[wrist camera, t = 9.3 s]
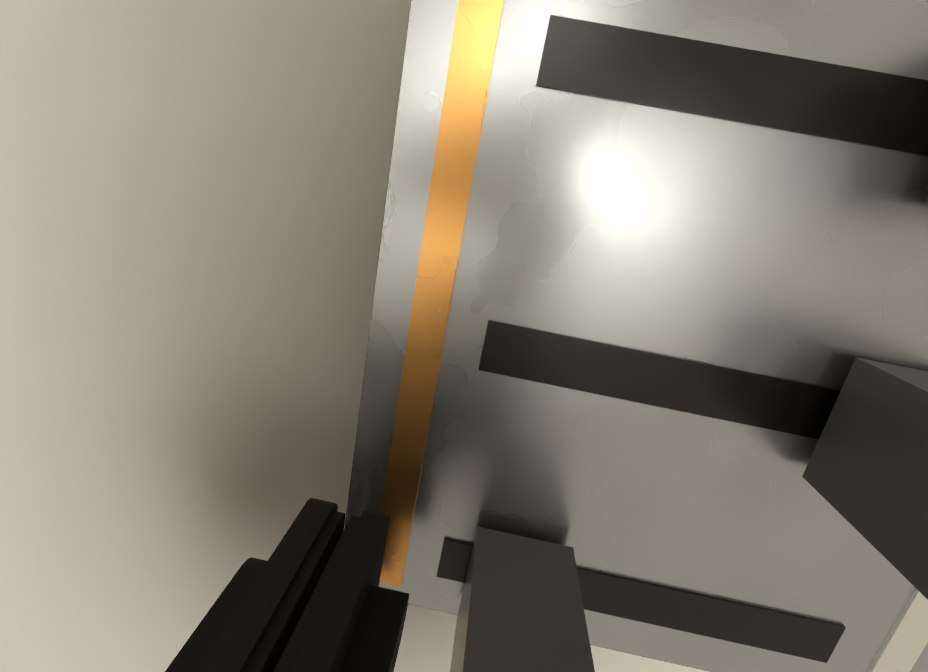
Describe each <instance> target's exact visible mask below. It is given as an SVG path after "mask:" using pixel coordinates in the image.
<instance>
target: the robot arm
mask: <svg viewBox="0 0 928 672" xmlns="http://www.w3.org/2000/svg"><path fill="white" fill-rule="evenodd" d="M337 510H338V506H337V504H335V503H331V502H326V501H322V500H318V499H313V498H310V499H309V500H308V501H307V502H306V504H305V506H304V507H303V509H302V510H301V512H300V513H299V515H298V516H297V518H296V519H295V521H294V522H293V524H292V525H291V527H290V528H289V530H288V531H287V533H286V534H285V536H284V537H283V539H282V540H281V542H280V543H279V545H278V546H277V548H276V549H275V551H274V552H273V554H272V555H271V557H270V558H269V560H268V561H265V560H260V559H256V558H249V559H248V560H246V561H245V563H244V564H243V565H242V566H241V567H240V569H239V570H238V571H237V573H236V574H235V576H234V577H233V578H232V580H231V581H230V582H229V584H228V585H227V587H226V588H225V589H224V591H223V592H222V594H221V595H220V596H219V598H218V599H217V600H216V602H215V603H214V605H213V606H212V607H211V609H210V610H209V612H208V613H207V614H206V616H205V617H204V618H203V620H202V621H201V623H200V624H199V625H198V627H197V628H196V630H195V631H194V632H193V634H192V635H191V636H190V638H189V639H188V641H187V642H186V643H185V645H184V646H183V648H182V649H181V650H180V652H179V653H178V654H177V656H176V657H175V659H174V660H173V661H172V663H171V664H170V666H169V667H168V668H167V670H166V671H165V672H393V671H394V667H395V662H396V658H397V654H398V649H399V645H400V640H401V636H402V631H403V626H404V621H405V616H406V611H407V606H408V600H409V593H405V592H400V591H396V590H392V589H387V588H383V587H379V582H380V576H381V570H382V564H383V558H384V552H385V547H386V541H387V535H388V529H389V522H390V516H389V515H385V514H380V513H376V512H371V511H367V510H364V511H363V512H362V514H361V516H360V517H359V516H355V515H352V516H351V517H350V519H349V521H348V523H347V525H346V527H345V529H344V522H345V513H341V512H337ZM343 530H344V531H343Z"/></svg>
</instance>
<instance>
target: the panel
mask: <svg viewBox="0 0 928 672" xmlns="http://www.w3.org/2000/svg"><path fill="white" fill-rule="evenodd" d="M927 198H928V2H927V1H922V0H412V1H411V9H410V17H409V24H408V32H407V40H406V48H405V56H404V64H403V72H402V80H401V88H400V95H399V103H398V111H397V119H396V127H395V135H394V143H393V151H392V158H391V166H390V174H389V182H388V190H387V198H386V206H385V214H384V221H383V229H382V237H381V245H380V253H379V261H378V269H377V277H376V284H375V292H374V300H373V308H372V316H371V324H370V332H369V340H368V347H367V355H366V363H365V371H364V379H363V387H362V395H361V403H360V410H359V418H358V426H357V434H356V442H355V450H354V458H353V466H352V474H351V481H350V489H349V497H348V505H347V513H346V521H345V527H346V525H347V523H348V521H349V519H350V517H351V516H352V515H355V516H359V517H360V516H361V514H362V512H363V511H364V510H367V511H371V512H376V513H380V514H385V515H389V516H390V522H389V529H388V535H387V541H386V547H385V552H384V558H383V564H382V570H381V576H380V582H379V587H383V588H387V589H392V590H396V591H400V592H405V593H409V600H408V604H410V605H415V606H419V607H424V608H428V609H432V610H437V611H441V612H446V613H450V614H455V615H458V611H459V607H460V602H461V598H462V593H463V589H464V584H465V580H466V576H467V571H468V567H469V562H470V558H471V553H472V549H473V545H474V540H475V536H476V531H477V527H482V528H486V529H491V530H495V531H500V532H505V533H509V534H514V535H519V536H523V537H528V538H532V539H537V540H542V541H546V542H551V543H556V544H560V545H565V546H569V547H573V549H574V555H575V561H576V567H577V572H578V578H579V584H580V590H581V596H582V601H583V607H584V613H585V619H586V625H587V630H588V636H589V642H590V645H593V646H598V647H602V648H607V649H611V650H616V651H620V652H625V653H629V654H634V655H638V656H643V657H647V658H652V659H656V660H661V661H665V662H670V663H674V664H678V665H683V666H687V667H692V668H696V669H701V670H705V671H710V672H928V600H927V599H926V598H925V597H924V596H923V595H922V594H921V593H920V592H919V591H918V590H917V589H916V588H915V587H914V586H913V585H912V584H911V583H910V582H909V581H908V580H907V579H906V578H905V577H904V576H903V575H902V574H901V573H900V572H899V571H898V570H897V569H896V568H895V567H894V566H893V565H892V564H891V563H890V562H889V561H888V560H887V559H886V558H885V557H884V556H883V555H882V554H881V553H880V552H879V551H878V550H876V549H875V548H874V547H873V546H872V545H871V544H870V543H869V542H868V541H867V540H866V539H865V538H864V537H863V536H862V535H861V534H860V533H859V532H858V531H857V530H856V529H855V528H854V527H853V526H852V525H851V524H850V523H849V522H848V521H847V520H846V519H845V518H844V517H843V516H842V515H841V514H840V513H839V512H838V511H837V510H836V509H835V508H834V507H833V506H832V505H831V504H830V503H829V502H828V501H827V500H826V499H825V498H824V497H823V496H821V495H820V494H819V493H818V492H817V491H816V490H815V489H814V488H813V487H812V486H811V485H810V484H809V483H808V482H807V481H806V480H805V479H804V478H803V477H802V476H803V473H804V471H805V469H806V467H807V465H808V462H809V460H810V458H811V456H812V453H813V451H814V449H815V447H816V445H817V442H818V440H819V438H820V436H821V433H822V431H823V429H824V427H825V425H826V422H827V420H828V418H829V416H830V413H831V411H832V409H833V407H834V405H835V402H836V400H837V398H838V396H839V393H840V391H841V389H842V387H843V385H844V382H845V380H846V378H847V376H848V373H849V371H850V369H851V367H852V365H853V362H854V360H855V358H856V357H857V358H862V359H867V360H872V361H877V362H882V363H887V364H892V365H898V366H903V367H908V368H913V369H918V370H923V371H928V203H925V202H926V200H927Z"/></svg>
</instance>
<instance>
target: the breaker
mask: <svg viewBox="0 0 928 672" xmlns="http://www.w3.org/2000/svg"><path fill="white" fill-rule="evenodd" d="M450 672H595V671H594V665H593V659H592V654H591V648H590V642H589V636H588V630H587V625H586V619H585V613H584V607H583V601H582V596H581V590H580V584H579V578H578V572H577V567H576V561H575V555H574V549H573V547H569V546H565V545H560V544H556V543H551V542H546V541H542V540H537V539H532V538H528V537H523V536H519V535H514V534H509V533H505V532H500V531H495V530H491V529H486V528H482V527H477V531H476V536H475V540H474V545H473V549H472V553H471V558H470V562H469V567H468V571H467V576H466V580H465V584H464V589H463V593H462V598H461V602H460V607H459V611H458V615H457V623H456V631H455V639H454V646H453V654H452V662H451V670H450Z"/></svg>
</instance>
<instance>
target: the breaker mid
mask: <svg viewBox="0 0 928 672" xmlns="http://www.w3.org/2000/svg"><path fill="white" fill-rule="evenodd" d="M802 477H803V478H804V479H805V480H806V481H807V482H808V483H809V484H810V485H811V486H812V487H813V488H814V489H815V490H816V491H817V492H818V493H819V494H820V495H821V496H823V497H824V498H825V499H826V500H827V501H828V502H829V503H830V504H831V505H832V506H833V507H834V508H835V509H836V510H837V511H838V512H839V513H840V514H841V515H842V516H843V517H844V518H845V519H846V520H847V521H848V522H849V523H850V524H851V525H852V526H853V527H854V528H855V529H856V530H857V531H858V532H859V533H860V534H861V535H862V536H863V537H864V538H865V539H866V540H867V541H868V542H869V543H870V544H871V545H872V546H873V547H874V548H875V549H876V550H878V551H879V552H880V553H881V554H882V555H883V556H884V557H885V558H886V559H887V560H888V561H889V562H890V563H891V564H892V565H893V566H894V567H895V568H896V569H897V570H898V571H899V572H900V573H901V574H902V575H903V576H904V577H905V578H906V579H907V580H908V581H909V582H910V583H911V584H912V585H913V586H914V587H915V588H916V589H917V590H918V591H919V592H920V593H921V594H922V595H923V596H924V597H925V598H926V599H927V600H928V371H923V370H918V369H913V368H908V367H903V366H898V365H892V364H887V363H882V362H877V361H872V360H867V359H862V358H857V357H856V358H855V360H854V362H853V365H852V367H851V369H850V371H849V373H848V376H847V378H846V380H845V382H844V385H843V387H842V389H841V391H840V393H839V396H838V398H837V400H836V402H835V405H834V407H833V409H832V411H831V413H830V416H829V418H828V420H827V422H826V425H825V427H824V429H823V431H822V433H821V436H820V438H819V440H818V442H817V445H816V447H815V449H814V451H813V453H812V456H811V458H810V460H809V462H808V465H807V467H806V469H805V471H804V473H803V476H802Z"/></svg>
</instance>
